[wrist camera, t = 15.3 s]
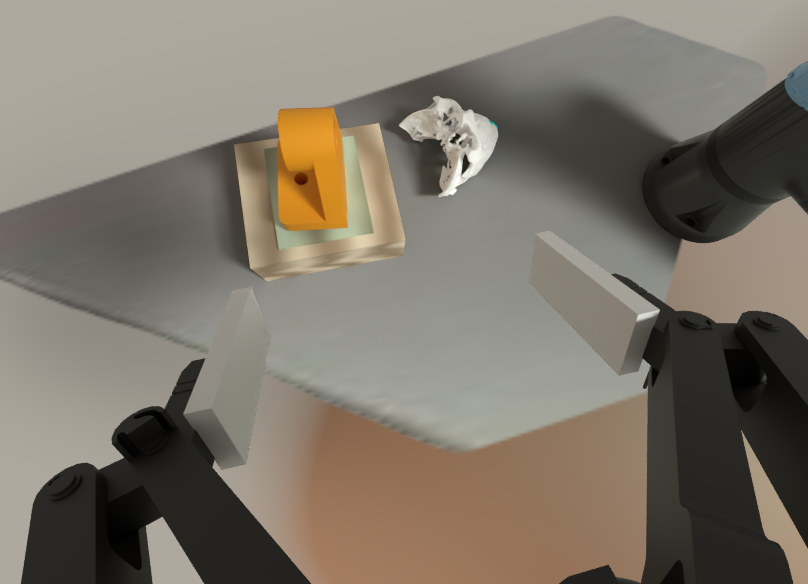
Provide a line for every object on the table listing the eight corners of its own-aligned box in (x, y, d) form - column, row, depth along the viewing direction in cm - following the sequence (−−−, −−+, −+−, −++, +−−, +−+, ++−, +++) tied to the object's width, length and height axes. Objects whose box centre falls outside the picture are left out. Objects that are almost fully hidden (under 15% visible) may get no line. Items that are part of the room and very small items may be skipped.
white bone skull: (522, 161, 49) (493, 150, 41) (473, 201, 54) (439, 197, 47) (480, 93, 51) (445, 71, 44) (436, 138, 56) (398, 125, 49)
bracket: (283, 151, 43) (247, 69, 32) (343, 148, 44) (329, 67, 32) (285, 234, 41) (246, 179, 29) (348, 230, 42) (335, 175, 30)
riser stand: (379, 151, 51) (378, 121, 45) (402, 255, 48) (405, 238, 42) (251, 171, 49) (232, 142, 43) (266, 281, 46) (249, 267, 40)
